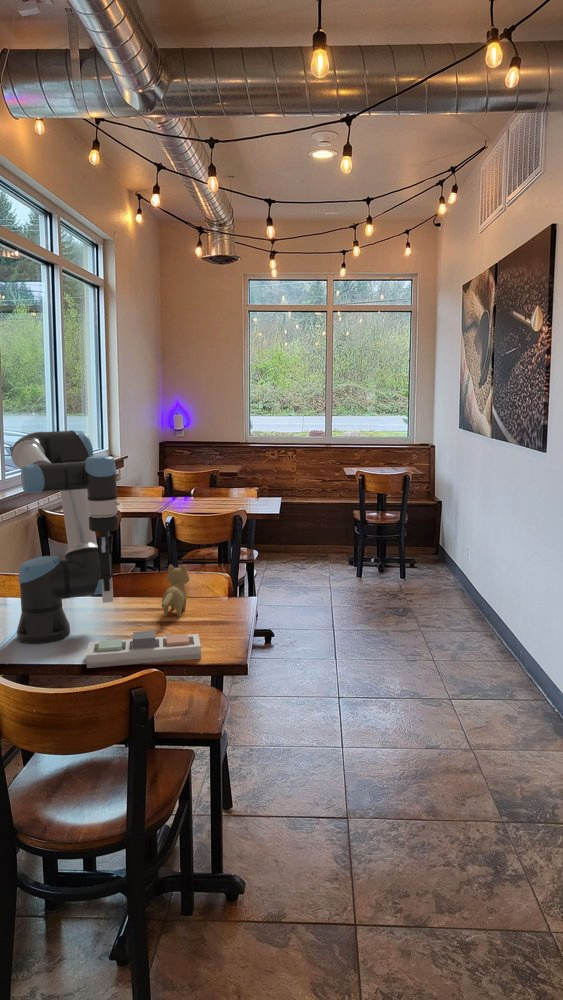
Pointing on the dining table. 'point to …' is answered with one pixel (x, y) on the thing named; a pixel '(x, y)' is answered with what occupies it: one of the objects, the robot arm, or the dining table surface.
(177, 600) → the toy
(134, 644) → the key charcoal
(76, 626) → the dining table surface
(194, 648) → the keypad
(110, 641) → the key sage
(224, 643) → the dining table surface
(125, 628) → the flat thin panel
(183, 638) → the key terracotta
